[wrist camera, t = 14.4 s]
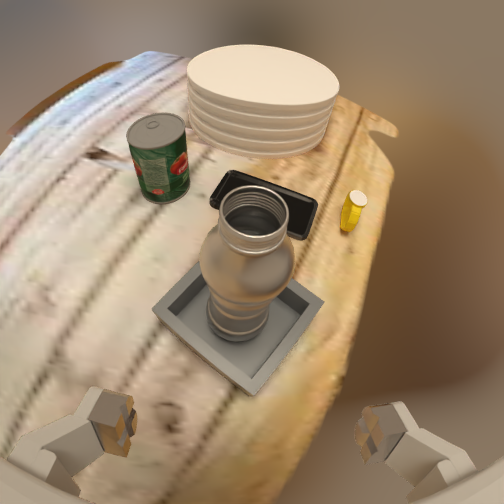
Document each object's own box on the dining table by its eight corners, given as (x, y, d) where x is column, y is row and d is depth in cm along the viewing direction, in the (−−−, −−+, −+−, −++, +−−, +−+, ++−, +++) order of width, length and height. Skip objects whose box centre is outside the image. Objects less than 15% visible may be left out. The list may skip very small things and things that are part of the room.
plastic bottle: (210, 289, 34) (200, 162, 16) (266, 294, 34) (311, 174, 17) (204, 342, 31) (179, 257, 13) (264, 347, 31) (320, 270, 14)
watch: (351, 239, 41) (367, 219, 36) (334, 234, 41) (348, 212, 36) (353, 208, 44) (368, 185, 38) (337, 203, 44) (350, 179, 38)
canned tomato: (197, 193, 42) (194, 135, 33) (148, 211, 40) (132, 155, 30) (180, 161, 45) (174, 106, 36) (136, 177, 43) (121, 123, 33)
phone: (229, 168, 44) (319, 200, 43) (229, 173, 45) (317, 205, 44) (206, 202, 40) (306, 240, 39) (206, 207, 41) (304, 244, 40)
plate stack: (235, 76, 63) (238, 37, 53) (339, 113, 58) (353, 72, 48) (160, 127, 50) (154, 77, 40) (293, 182, 45) (310, 126, 35)
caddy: (160, 322, 32) (151, 309, 28) (227, 252, 38) (228, 231, 33) (249, 396, 29) (254, 395, 25) (311, 315, 34) (324, 302, 30)
